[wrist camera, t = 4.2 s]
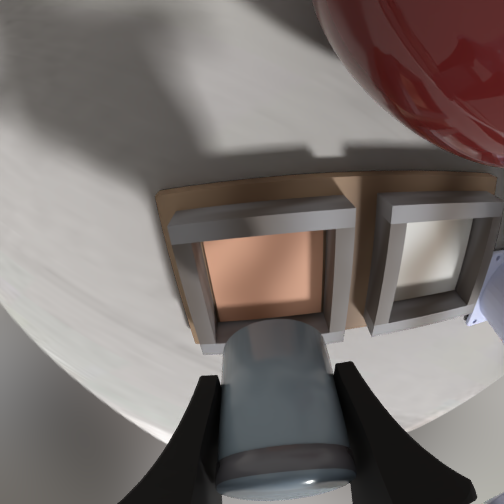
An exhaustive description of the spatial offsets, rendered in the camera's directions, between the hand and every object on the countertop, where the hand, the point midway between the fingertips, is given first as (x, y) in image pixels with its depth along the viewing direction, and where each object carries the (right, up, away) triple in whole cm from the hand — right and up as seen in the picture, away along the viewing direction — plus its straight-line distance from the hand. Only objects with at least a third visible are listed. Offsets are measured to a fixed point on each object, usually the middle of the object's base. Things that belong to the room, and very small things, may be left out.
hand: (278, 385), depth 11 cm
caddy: (+5, +5, +8) cm, 10 cm away
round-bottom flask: (+7, +18, +1) cm, 19 cm away
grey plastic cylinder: (0, +1, +2) cm, 2 cm away
